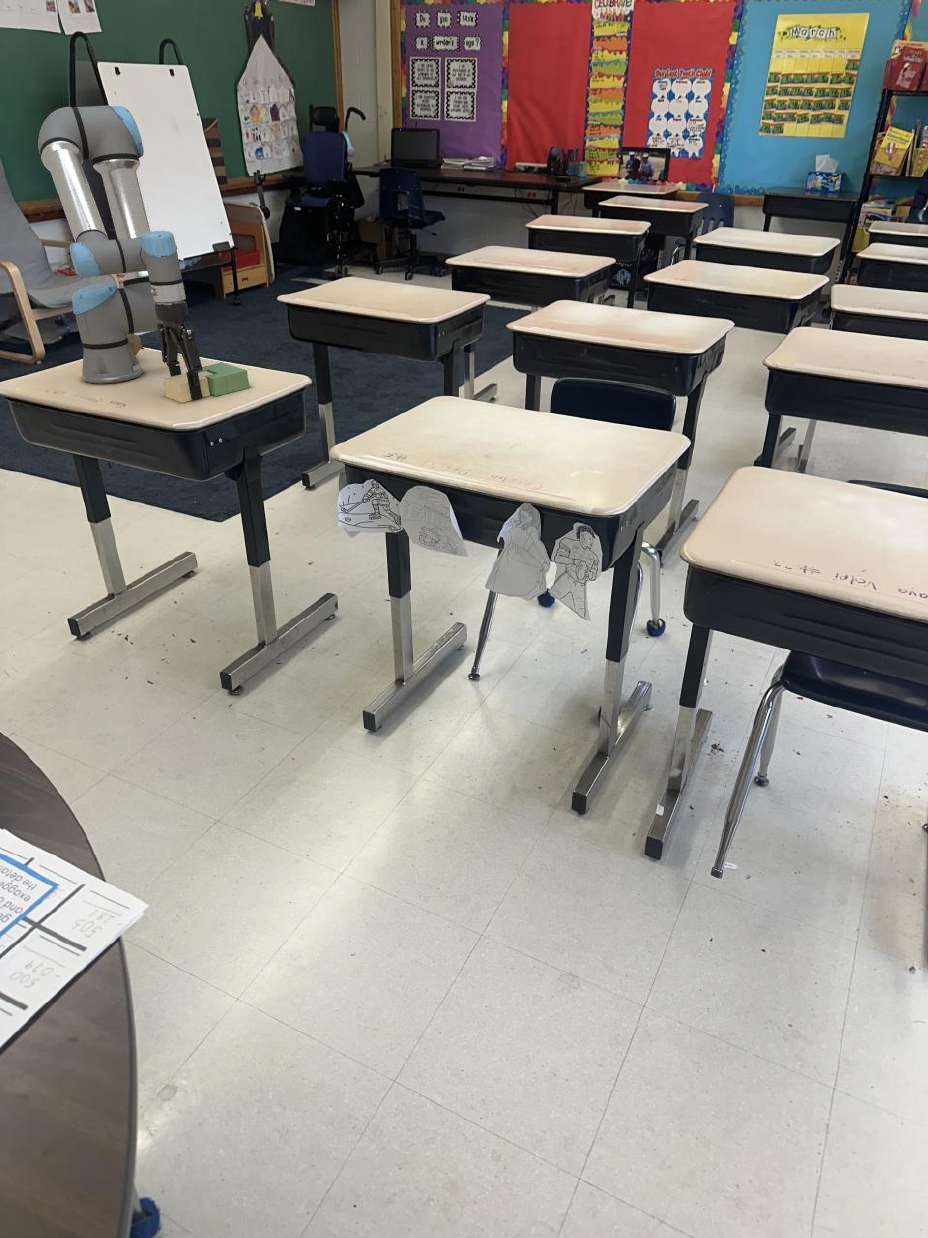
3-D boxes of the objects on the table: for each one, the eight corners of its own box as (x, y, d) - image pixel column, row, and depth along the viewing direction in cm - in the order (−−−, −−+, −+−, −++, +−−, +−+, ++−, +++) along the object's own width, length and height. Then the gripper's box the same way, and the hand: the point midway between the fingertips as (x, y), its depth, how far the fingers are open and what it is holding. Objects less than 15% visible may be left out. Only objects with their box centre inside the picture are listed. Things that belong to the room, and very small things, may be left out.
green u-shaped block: (191, 387, 225) (188, 369, 222) (224, 378, 231) (221, 361, 228) (216, 396, 217) (213, 378, 215) (249, 387, 223) (246, 370, 221)
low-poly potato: (94, 359, 252) (82, 349, 241) (101, 322, 252) (90, 311, 240) (146, 372, 254) (137, 363, 243) (153, 335, 254) (145, 325, 243)
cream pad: (166, 396, 218) (162, 378, 216) (204, 386, 225) (200, 369, 222) (182, 402, 213) (178, 384, 211) (220, 392, 220) (217, 375, 218)
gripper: (134, 298, 210) (154, 390, 222) (177, 310, 198) (196, 406, 210) (162, 293, 215) (180, 384, 227) (206, 304, 202) (223, 399, 214)
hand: (188, 394), depth 218 cm, fingers closed on cream pad, 8 cm apart
